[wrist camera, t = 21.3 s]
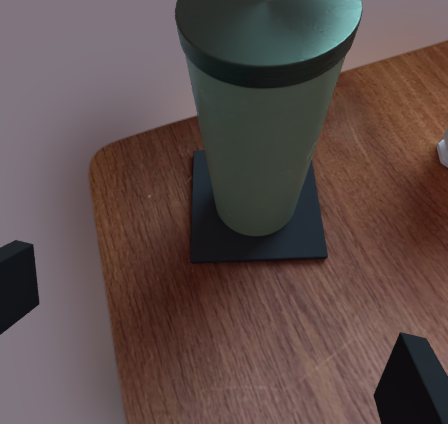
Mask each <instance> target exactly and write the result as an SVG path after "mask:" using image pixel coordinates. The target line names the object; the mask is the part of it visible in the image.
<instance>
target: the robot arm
mask: <svg viewBox="0 0 448 424" xmlns="http://www.w3.org/2000/svg"><path fill="white" fill-rule="evenodd" d="M38 305H39V296H38V287H37V276H36V267H35V257H34V247H33V244H30V243H26V242H21V241H17V240H15V241H13V242H11V243H9V244H7V245H5V246H3V247H1V248H0V334H2V333H3V332H4V331H6V330H7V329H8V328H9V327H11V326H12V325H13V324H15V323H16V322H17V321H18V320H20V319H21V318H22V317H24V316H25V315H26V314H27V313H29V312H30V311H31V310H32V309H34V308H35V307H36V306H38ZM374 399H375V402H376V406H377V410H378V413H379V417H380V421H381V424H448V376H447V374H446V372H445V371H444V369H443V367H442V365H441V364H440V362H439V360H438V358H437V356H436V355H435V353H434V351H433V349H432V348H431V346H430V344H429V342H428V340H427V339H426V338H422V337H418V336H414V335H410V334H406V333H401V332H400V334H399V336H398V338H397V341H396V343H395V345H394V348H393V350H392V353H391V355H390V357H389V360H388V362H387V364H386V367H385V369H384V372H383V374H382V376H381V379H380V381H379V383H378V386H377V388H376V391H375V393H374Z"/></svg>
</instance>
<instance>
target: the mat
mask: <svg viewBox="0 0 448 424" xmlns="http://www.w3.org/2000/svg"><path fill="white" fill-rule="evenodd" d="M327 257H328V254H327V248H326V242H325V236H324V230H323V224H322V218H321V212H320V206H319V200H318V194H317V188H316V182H315V176H314V170H313V165H312V160H311V163H310V166H309V169H308V172H307V175H306V178H305V181H304V184H303V187H302V190H301V193H300V196H299V199H298V202H297V205H296V208H295V211H294V214H293V216H292V218H291V219H290V220H289V222H288V223H287V224H286V225H285V226H284V227H283V228H281V229H280V230H278V231H276V232H274V233H271V234H268V235H264V236H248V235H244V234H241V233H238V232H236V231H234V230H232V229H231V228H230V227H228V226H227V225H226V224H225V223H224V222H223V221H222V219H221V218H220V216H219V214H218V212H217V209H216V205H215V200H214V195H213V190H212V185H211V180H210V175H209V170H208V165H207V160H206V155H205V150H200V151H194V159H193V190H192V220H191V251H190V262H191V263H213V262H242V261H272V260H301V259H326V258H327Z"/></svg>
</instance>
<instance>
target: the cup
mask: <svg viewBox="0 0 448 424" xmlns="http://www.w3.org/2000/svg"><path fill="white" fill-rule="evenodd" d="M443 138H444V139H443V140H442V141H441V142H440V143H439V144H438V145H437V146H436V147H437V151H438V155H439V159H440V163H441V164H443V165H444V166H446V167H447V168H448V127H447V129H446V131H445V134H444V136H443Z"/></svg>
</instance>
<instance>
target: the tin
mask: <svg viewBox="0 0 448 424" xmlns="http://www.w3.org/2000/svg"><path fill="white" fill-rule="evenodd" d="M361 16H362V0H177V3H176V8H175V20H176V24H177V29H178V34H179V39H180V43H181V46H182V49H183V51H184V53H185V55H186V61H187V65H188V70H189V75H190V80H191V85H192V90H193V95H194V100H195V105H196V110H197V115H198V120H199V125H200V130H201V135H202V140H203V145H204V150H205V155H206V160H207V165H208V170H209V175H210V180H211V185H212V190H213V195H214V200H215V205H216V209H217V212H218V214H219V216H220V218H221V219H222V221H223V222H224V223H225V224H226V225H227V226H228V227H230V228H231V229H232V230H234V231H236V232H238V233H241V234H244V235H248V236H264V235H268V234H271V233H274V232H276V231H278V230H280V229H281V228H283V227H284V226H285V225H286V224H287V223H288V222H289V220H290V219H291V218H292V216H293V214H294V211H295V208H296V205H297V202H298V199H299V196H300V193H301V190H302V187H303V184H304V181H305V178H306V175H307V172H308V169H309V166H310V163H311V160H312V157H313V154H314V151H315V148H316V144H317V141H318V138H319V135H320V132H321V129H322V126H323V123H324V120H325V117H326V114H327V111H328V108H329V105H330V102H331V99H332V96H333V93H334V90H335V87H336V84H337V81H338V78H339V74H340V71H341V68H342V65H343V62H344V59H345V56H346V54H347V52H348V51H349V49H350V48H351V46H352V43H353V40H354V38H355V35H356V32H357V29H358V26H359V23H360V20H361Z"/></svg>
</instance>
